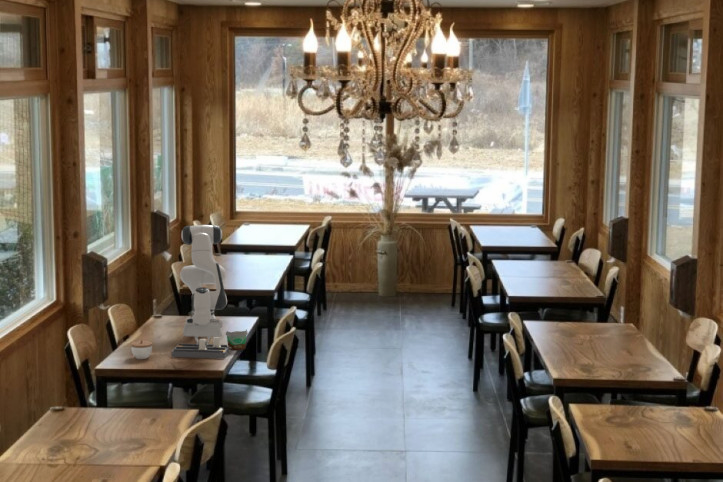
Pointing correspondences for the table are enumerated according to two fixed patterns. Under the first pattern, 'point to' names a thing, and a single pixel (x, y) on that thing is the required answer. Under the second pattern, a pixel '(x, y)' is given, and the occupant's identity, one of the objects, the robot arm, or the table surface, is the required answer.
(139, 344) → the lidded jar
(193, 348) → the switch board
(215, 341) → the tab
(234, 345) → the food container
